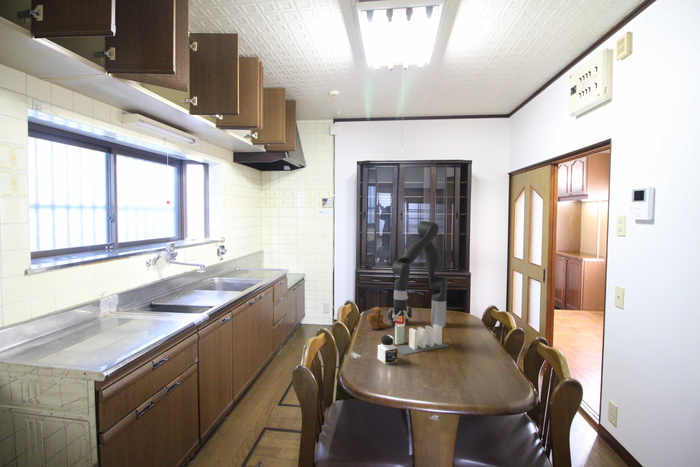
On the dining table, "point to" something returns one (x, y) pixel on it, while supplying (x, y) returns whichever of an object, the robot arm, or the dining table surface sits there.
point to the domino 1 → (399, 334)
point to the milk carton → (400, 320)
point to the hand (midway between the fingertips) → (399, 326)
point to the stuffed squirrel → (376, 319)
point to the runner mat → (418, 348)
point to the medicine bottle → (387, 350)
